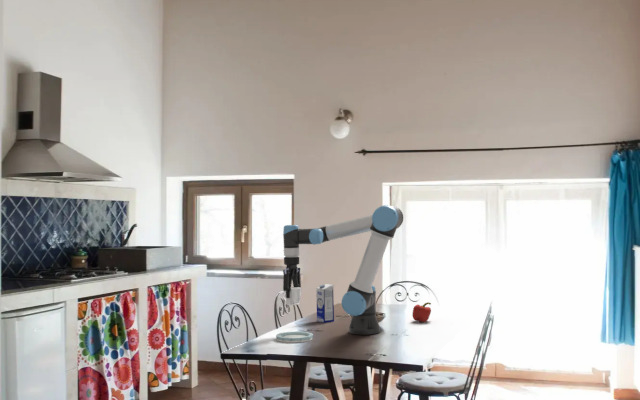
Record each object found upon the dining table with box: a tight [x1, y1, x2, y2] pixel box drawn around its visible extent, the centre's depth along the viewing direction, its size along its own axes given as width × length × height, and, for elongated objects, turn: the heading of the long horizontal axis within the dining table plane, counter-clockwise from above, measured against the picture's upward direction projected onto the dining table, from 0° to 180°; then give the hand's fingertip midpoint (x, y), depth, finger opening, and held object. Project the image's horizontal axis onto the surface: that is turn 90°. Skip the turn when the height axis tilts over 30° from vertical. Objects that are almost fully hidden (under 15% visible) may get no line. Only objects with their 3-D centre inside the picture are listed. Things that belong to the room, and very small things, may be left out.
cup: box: [282, 286, 302, 306], centre depth 316 cm, size 7×10×8 cm
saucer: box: [275, 330, 314, 344], centre depth 303 cm, size 17×17×2 cm
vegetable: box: [412, 302, 432, 323], centre depth 346 cm, size 11×10×10 cm
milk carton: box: [315, 283, 335, 324], centre depth 353 cm, size 7×7×20 cm
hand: (292, 303), depth 316 cm, fingers closed on cup, 7 cm apart
